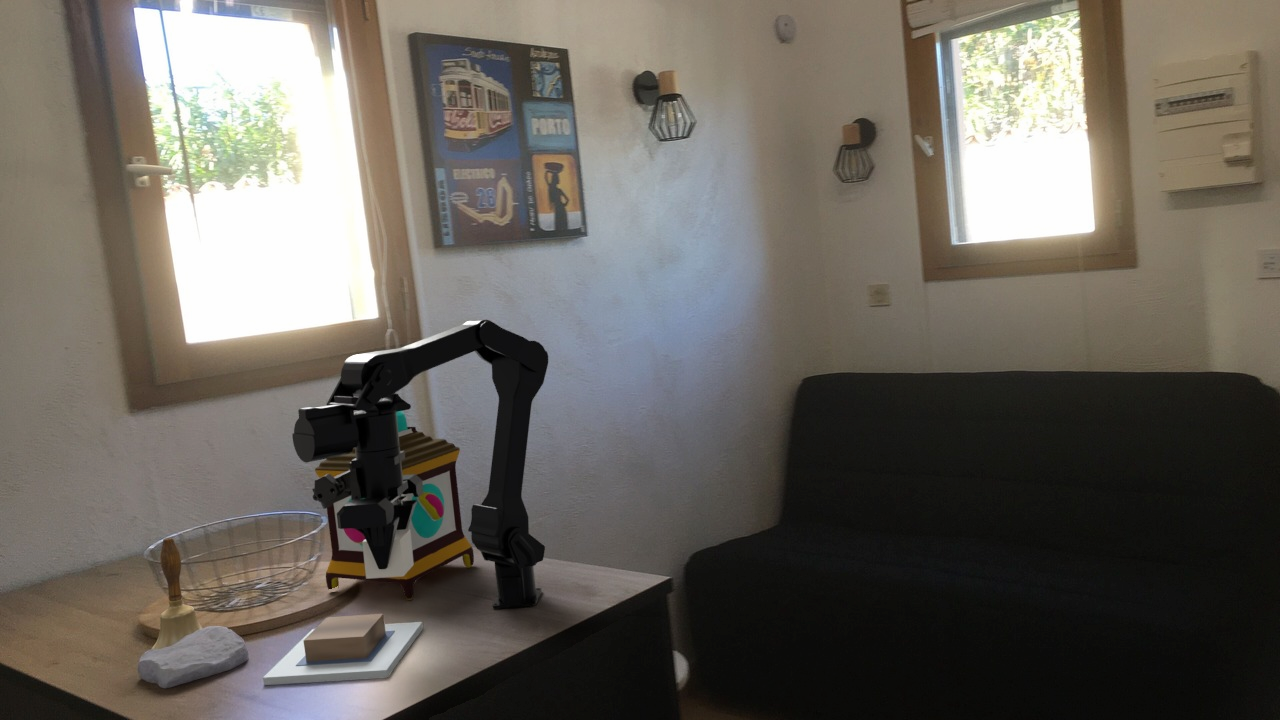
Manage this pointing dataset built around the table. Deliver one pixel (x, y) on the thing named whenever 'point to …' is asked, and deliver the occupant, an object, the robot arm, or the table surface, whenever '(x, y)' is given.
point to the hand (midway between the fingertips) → (389, 562)
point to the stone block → (193, 657)
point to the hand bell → (174, 601)
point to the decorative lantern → (431, 519)
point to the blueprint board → (348, 668)
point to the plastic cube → (391, 557)
